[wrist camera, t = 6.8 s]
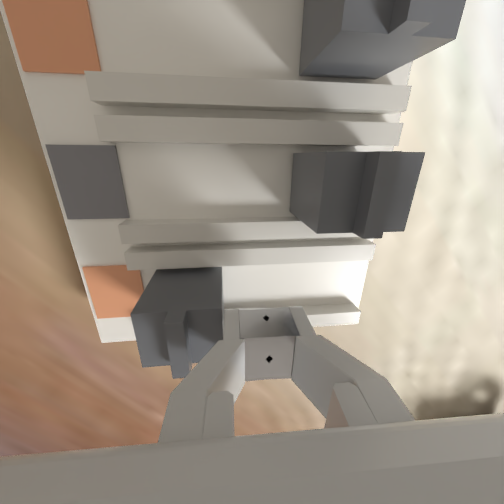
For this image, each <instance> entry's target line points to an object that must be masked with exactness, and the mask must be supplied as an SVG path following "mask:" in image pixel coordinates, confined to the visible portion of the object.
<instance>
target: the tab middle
mask: <svg viewBox="0 0 504 504" xmlns="http://www.w3.org/2000/svg"><path fill="white" fill-rule="evenodd" d="M424 155H425V152H402V151H373V152H351V151H322V152H304V153H293V167H292V181H291V195H290V210H289V211H290V212H291V213H292V214H293V215H294V216H296V217H297V218H298V219H299V220H301V221H302V222H303V223H304V224H305V225H307V226H308V227H309V228H310V229H312V230H313V231H314V232H315V233H316V234H327V233H354V234H356V235H357V236H359V237H361V238H362V239H373V238H382V235H383V232H397V231H404V230H405V226H406V222H407V218H408V215H409V211H410V207H411V204H412V200H413V196H414V192H415V189H416V185H417V181H418V177H419V174H420V170H421V166H422V162H423V159H424Z"/></svg>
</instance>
